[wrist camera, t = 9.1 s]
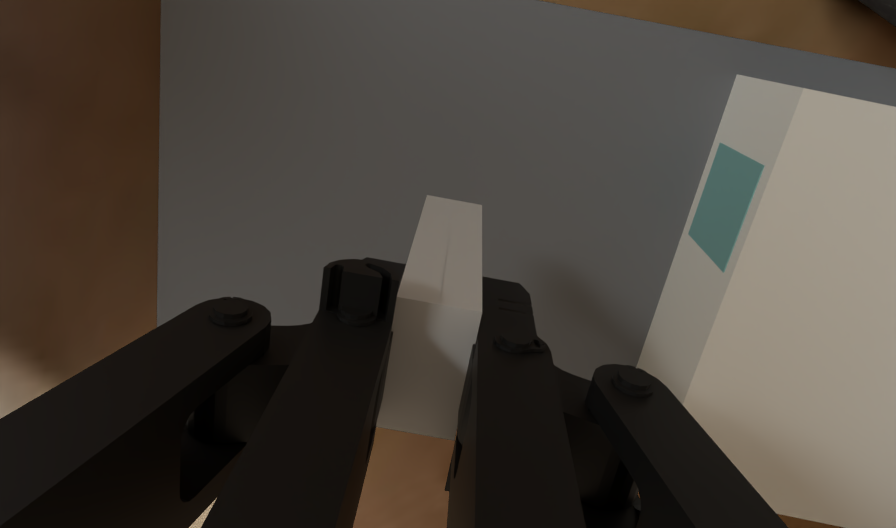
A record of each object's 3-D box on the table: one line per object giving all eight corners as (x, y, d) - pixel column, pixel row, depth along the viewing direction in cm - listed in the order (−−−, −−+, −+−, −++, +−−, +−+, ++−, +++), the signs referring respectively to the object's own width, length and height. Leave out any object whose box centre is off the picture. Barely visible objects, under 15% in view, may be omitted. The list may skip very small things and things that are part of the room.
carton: (622, 404, 24) (649, 487, 19) (735, 74, 19) (802, 87, 15) (835, 448, 24) (909, 540, 19) (996, 127, 19) (1136, 156, 15)
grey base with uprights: (181, 316, 26) (-61, 539, 15) (191, -63, 21) (-163, -166, 10) (907, 456, 26) (1224, 790, 15) (1094, 109, 21) (1800, 210, 10)
